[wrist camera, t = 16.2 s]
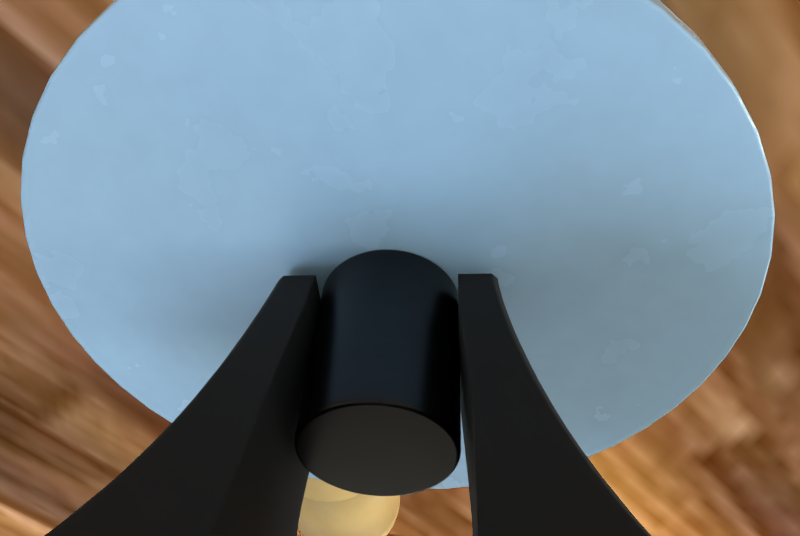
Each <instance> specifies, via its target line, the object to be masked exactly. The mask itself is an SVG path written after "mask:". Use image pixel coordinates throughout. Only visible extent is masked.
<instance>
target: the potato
mask: <svg viewBox="0 0 800 536" xmlns="http://www.w3.org/2000/svg"><path fill="white" fill-rule="evenodd" d="M399 504H400V496H371V495H363V494H358V493H353V492H349V491H345V490H342V489H339V488H337V487H334V486H332V485H330V484H327V483H326V482H324V481H322V480H320V479H314V478H309V477H308V480H307V484H306V488H305V493H304V497H303V502H302V507H301V512H300V518H299V523H298V529H299V530H300V532H301V533H302V535H303V536H387V534H388V533H389V531H390V530H391V528H392V526H393V525H394V523H395V520H396V517H397V515H398V510H399Z"/></svg>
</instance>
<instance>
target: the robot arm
mask: <svg viewBox="0 0 800 536" xmlns="http://www.w3.org/2000/svg"><path fill="white" fill-rule="evenodd" d="M320 302H321V299H320V294H319V289H318V284H317V279H316V275H296V276H283V277H282V278H281V279H279V281H278V282H277V284H276V285H275V287H274V289H273V290H272V292H271V293H270V295H269V297H268V298H267V300H266V301H265V303H264V304H263V306H262V307H261V309H260V311H259V312H258V314H257V315H256V317H255V318H254V319H253V321H252V322H251V324H250V325H249V327H248V328H247V330H246V331H245V333H244V334H243V335H242V337H241V338H240V340H239V341H238V342H237V344H236V345H235V346H234V348H233V349H232V351H231V352H230V353H229V355H228V356H227V357H226V359H225V360H224V361H223V363H222V364H221V365H220V367H219V368H218V369H217V370H216V372H215V373H214V374H213V375H212V377H211V378H210V379H209V380H208V382H207V383H206V384H205V385H204V386H203V388H202V389H201V390H200V391H199V393H198V394H197V395H196V396H195V398H194V399H193V400H192V401H191V402H190V403H189V404H188V406H187V407H186V408H185V409H184V410H183V411H182V412H181V414H180V415H179V416H178V417H177V418H176V419H175V420H174V421H173V422H172V423H171V424H170V425H169V426H168V428H167V429H166V430H165V431H164V432H163V433H162V434H161V435H160V436H159V437H158V438H157V439H156V440H155V441H154V442H153V443H152V444H151V445H150V446H149V447H148V448H147V449H146V450H145V451H144V452H143V453H142V454H141V455H140V456H139V457H137V458H136V459H135V460H134V461H133V462H132V463H131V464H130V465H129V466H128V467H127V468H126V469H125V470H124V471H123V472H122V473H120V474H119V475H118V476H117V477H116V478H115V479H114V480H113V481H112V482H110V483H109V484H108V485H107V486H106V487H105V488H103V489H102V490H101V491H100V492H99V493H97V494H96V495H95V496H94V497H92V498H91V499H90V500H89V501H88V502H86V503H85V504H84V505H83V506H82V507H80V508H79V509H78V510H77V511H75V512H74V513H73V514H72V515H71V516H69V517H68V518H67V519H66V520H64V521H63V522H62V523H61V524H59V525H58V526H57V527H55V528H54V529H53V530H52V531H50V532H49V533H48V534H46V535H45V536H297V529H298V523H299V518H300V512H301V507H302V502H303V497H304V493H305V488H306V484H307V480H308V475H309V471H308V470H307V469H306V468H305V467H304V466H303V464H302V463H301V461H300V460H299V458H298V456H297V453H296V450H295V445H294V436H295V431H296V426H297V421H298V416H299V410H300V405H301V400H302V395H303V390H304V385H305V379H306V374H307V369H308V364H309V359H310V354H311V348H312V343H313V338H314V333H315V328H316V323H317V317H318V312H319V307H320ZM458 332H459V355H460V406H461V418H462V428H463V437H464V446H465V456H466V465H467V474H468V483H469V492H470V502H471V513H472V527H473V536H651V535H650V534H649V533H648V532H647V531H646V529H645V528H644V527H643V526H642V525H641V524H640V523H639V522H638V520H637V519H636V518H635V517H634V516H633V515H632V513H631V512H630V511H629V510H628V508H627V507H626V506H625V505H624V504H623V502H622V501H621V500H620V499H619V497H618V496H617V495H616V494H615V492H614V491H613V490H612V489H611V487H610V486H609V485H608V484H607V483H606V481H605V480H604V479H603V478H602V476H601V475H600V474H599V473H598V471H597V470H596V468H595V467H594V466H593V464H592V463H591V462H590V460H589V459H588V457H587V456H586V455H585V453H584V452H583V451H582V449H581V448H580V446H579V445H578V443H577V442H576V440H575V439H574V437H573V436H572V434H571V433H570V431H569V430H568V429H567V427H566V425H565V424H564V422H563V421H562V419H561V418H560V416H559V414H558V413H557V411H556V409H555V408H554V406H553V404H552V403H551V401H550V399H549V398H548V396H547V394H546V392H545V391H544V389H543V387H542V385H541V384H540V382H539V380H538V378H537V376H536V374H535V372H534V370H533V369H532V366H531V364H530V362H529V360H528V358H527V356H526V354H525V352H524V350H523V348H522V346H521V344H520V342H519V340H518V337H517V335H516V333H515V330H514V328H513V325H512V323H511V320H510V318H509V315H508V313H507V310H506V307H505V304H504V301H503V298H502V295H501V291H500V288H499V283H498V278H497V277H495V276H494V275H493V274H492V273H490V274H458Z"/></svg>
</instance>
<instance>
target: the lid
mask: <svg viewBox="0 0 800 536" xmlns="http://www.w3.org/2000/svg"><path fill="white" fill-rule="evenodd" d="M21 204H22V212H23V219H24V227H25V235H26V239H27V242H28V245H29V249H30V252H31V255H32V258H33V262H34V265H35V268H36V272H37V274H38V276H39V278H40V280H41V282H42V284H43V286H44V288H45V290H46V293H47V295H48V297H49V299H50V301H51V303H52V305H53V306H54V308H55V310H56V311H57V313H58V314H59V316H60V317H61V319H62V320H63V322H64V323H65V325H66V326H67V328H68V329H69V331H70V332H71V334H72V335H73V336H74V338H75V339H76V340H77V341H78V342H79V344H80V345H81V346H82V347H83V348H84V350H85V351H86V352H87V353H88V354H89V355H90V357H91V358H92V359H93V360H94V361H95V362H96V363H97V364H98V365H99V366H100V367H101V368H102V369H103V370H104V371H105V372H106V373H107V374H108V375H109V376H110V377H111V378H112V379H113V380H114V381H116V382H117V383H118V384H119V385H120V386H121V387H122V388H123V389H125V390H126V391H127V392H128V393H130V394H131V395H132V396H134V397H135V398H136V399H137V400H139V401H140V402H141V403H143V404H144V405H145V406H146V407H148V408H149V409H151V410H152V411H154V412H155V413H157V414H159V415H160V416H162V417H163V418H165V419H166V420H168V421H169V422H171V423H172V422H173V421H174V420H175V419H176V418H177V417H178V416H179V415H180V414H181V412H182V411H183V410H184V409H185V408H186V407H187V406H188V404H189V403H190V402H191V401H192V400H193V399H194V398H195V396H196V395H197V394H198V393H199V391H200V390H201V389H202V388H203V386H204V385H205V384H206V383H207V382H208V380H209V379H210V378H211V377H212V375H213V374H214V373H215V372H216V370H217V369H218V368H219V367H220V365H221V364H222V363H223V361H224V360H225V359H226V357H227V356H228V355H229V353H230V352H231V351H232V349H233V348H234V346H235V345H236V344H237V342H238V341H239V340H240V338H241V337H242V335H243V334H244V333H245V331H246V330H247V328H248V327H249V325H250V324H251V322H252V321H253V319H254V318H255V317H256V315H257V314H258V312H259V311H260V309H261V307H262V306H263V304H264V303H265V301H266V300H267V298H268V297H269V295H270V293H271V292H272V290H273V289H274V287H275V285H276V284H277V282H278V281H279V279H281V278H282V277H283V276H296V275H316V279H317V284H318V289H319V294H320V299H321V302H320V307H319V312H318V317H317V323H316V328H315V333H314V338H313V343H312V348H311V354H310V359H309V364H308V369H307V374H306V379H305V385H304V390H303V395H302V400H301V405H300V410H299V416H298V421H297V426H296V431H295V436H294V445H295V450H296V453H297V456H298V458H299V460H300V461H301V463H302V464H303V466H304V467H305V468H306V469H307V470H308V471H309V475H308V477H309V478H314V479H320V480H322V481H324V482H326V483H327V484H330V485H332V486H334V487H337V488H339V489H342V490H345V491H349V492H353V493H358V494H363V495H371V496H400V495H407V494H413V493H417V492H421V491H424V490H427V489H446V488H457V487H468V486H469V483H468V474H467V465H466V456H465V446H464V437H463V428H462V418H461V406H460V355H459V332H458V274H490V273H492V274H493V275H494V276H495V277H497V278H498V283H499V288H500V291H501V295H502V298H503V301H504V304H505V307H506V310H507V313H508V315H509V318H510V320H511V323H512V325H513V328H514V330H515V333H516V335H517V337H518V340H519V342H520V344H521V346H522V348H523V350H524V352H525V354H526V356H527V358H528V360H529V362H530V364H531V366H532V369H533V370H534V372H535V374H536V376H537V378H538V380H539V382H540V384H541V385H542V387H543V389H544V391H545V392H546V394H547V396H548V398H549V399H550V401H551V403H552V404H553V406H554V408H555V409H556V411H557V413H558V414H559V416H560V418H561V419H562V421H563V422H564V424H565V425H566V427H567V429H568V430H569V431H570V433H571V434H572V436H573V437H574V439H575V440H576V442H577V443H578V445H579V446H580V448H581V449H582V451H583V452H584V453H585V455H586V456H587V457H590V456H592V455H594V454H596V453H599V452H601V451H603V450H605V449H608V448H610V447H612V446H615V445H617V444H618V443H620V442H622V441H624V440H625V439H627V438H629V437H631V436H633V435H634V434H636V433H638V432H640V431H642V430H643V429H645V428H647V427H648V426H650V425H651V424H653V423H654V422H655V421H657V420H658V419H660V418H661V417H663V416H664V415H665V414H667V413H668V412H670V411H671V410H673V409H674V408H675V407H676V406H678V405H679V404H680V403H681V402H682V401H683V400H684V399H686V398H687V397H688V396H689V395H690V394H691V393H692V392H693V391H695V390H696V389H697V388H698V387H699V386H700V385H701V384H702V383H703V382H704V381H705V380H706V379H707V378H708V377H709V375H710V374H711V373H712V372H713V371H714V370H715V369H716V368H717V366H718V365H719V364H720V363H721V362H722V361H723V360H724V358H725V357H726V356H727V354H728V353H729V351H730V350H731V348H732V347H733V345H734V344H735V342H736V341H737V339H738V338H739V336H740V335H741V333H742V332H743V330H744V329H745V327H746V325H747V323H748V321H749V319H750V317H751V314H752V312H753V310H754V308H755V306H756V304H757V301H758V299H759V297H760V295H761V292H762V289H763V285H764V281H765V278H766V274H767V270H768V267H769V263H770V259H771V254H772V243H773V232H774V221H775V211H774V201H773V191H772V180H771V173H770V170H769V166H768V163H767V159H766V156H765V153H764V149H763V146H762V142H761V139H760V136H759V132H758V130H757V128H756V126H755V124H754V122H753V120H752V118H751V116H750V114H749V112H748V111H747V109H746V107H745V105H744V103H743V101H742V99H741V97H740V95H739V93H738V91H737V89H736V87H735V86H734V84H733V82H732V81H731V79H730V78H729V76H728V75H727V73H726V72H725V71H724V70H723V68H722V67H721V66H720V64H719V63H718V62H717V60H716V59H715V58H714V56H713V55H712V54H711V52H710V51H709V50H708V49H707V47H706V46H705V45H704V43H703V42H702V41H701V39H700V38H699V37H698V35H696V34H695V33H694V32H693V31H692V30H691V29H690V28H689V27H688V26H687V25H686V24H685V23H684V22H683V21H681V20H680V19H679V18H678V17H677V16H676V15H675V14H674V13H673V12H672V11H671V10H670V9H669V8H667V7H666V6H665V5H664V4H663V3H662V2H661V1H660V0H114V1H113V2H112V3H111V4H110V5H109V6H108V7H107V8H106V9H105V10H104V11H103V12H102V13H101V14H100V15H99V16H98V17H97V18H96V19H95V20H94V21H93V22H92V23H91V24H90V25H89V26H88V27H87V28H86V29H85V30H84V31H83V32H82V33H81V35H80V36H79V37H78V38H77V39H76V41H75V42H74V44H73V45H72V46H71V48H70V49H69V51H68V52H67V54H66V55H65V56H64V58H63V59H62V61H61V62H60V64H59V65H58V66H57V68H56V69H55V71H54V72H53V73H52V75H51V76H50V78H49V81H48V83H47V85H46V87H45V90H44V92H43V94H42V96H41V98H40V101H39V103H38V105H37V107H36V109H35V112H34V114H33V116H32V120H31V124H30V128H29V132H28V137H27V141H26V145H25V149H24V153H23V159H22V181H21Z"/></svg>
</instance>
